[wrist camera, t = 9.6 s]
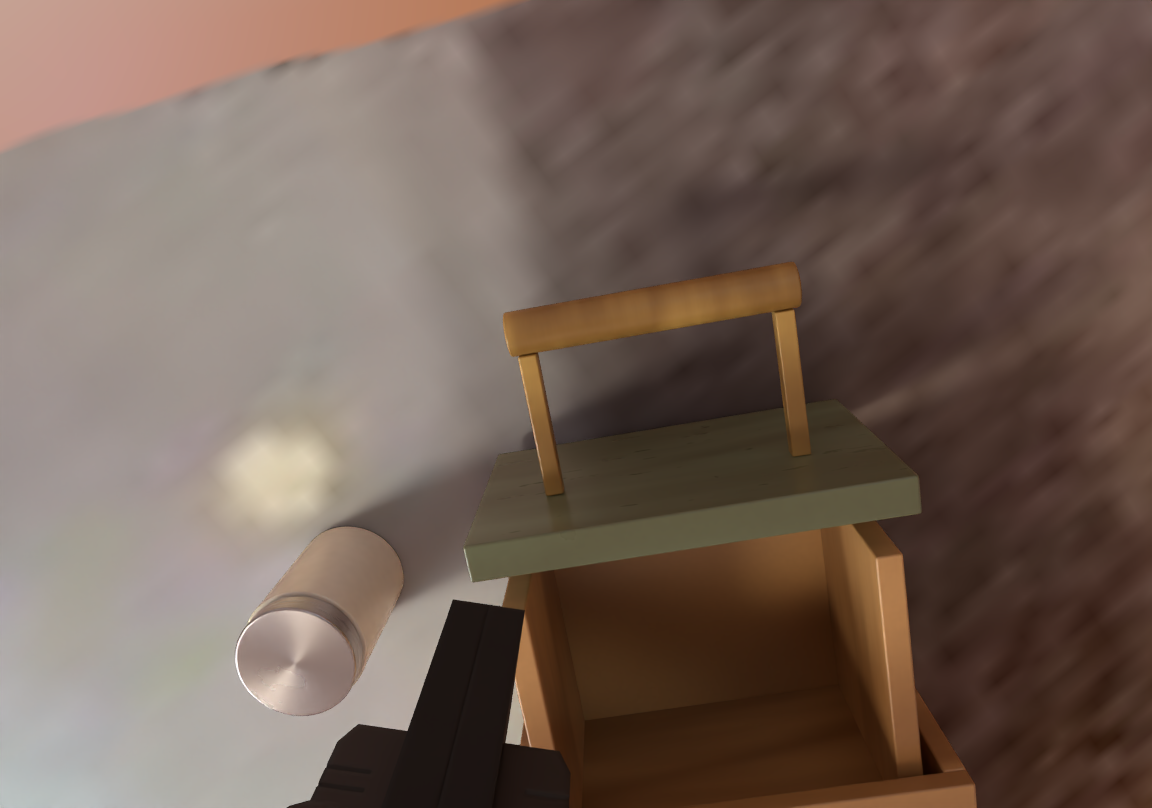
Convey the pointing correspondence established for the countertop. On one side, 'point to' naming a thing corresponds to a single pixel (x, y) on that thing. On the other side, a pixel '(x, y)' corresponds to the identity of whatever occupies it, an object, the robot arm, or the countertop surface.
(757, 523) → the drawer
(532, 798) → the robot arm
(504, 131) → the countertop surface
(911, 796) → the cabinet
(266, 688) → the salt shaker
